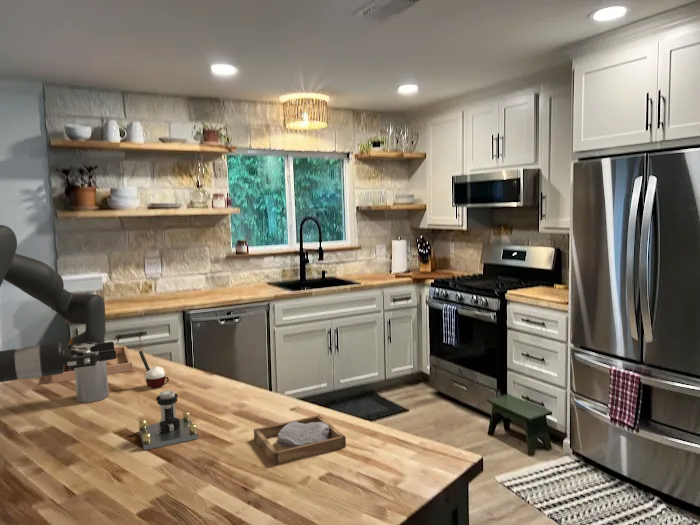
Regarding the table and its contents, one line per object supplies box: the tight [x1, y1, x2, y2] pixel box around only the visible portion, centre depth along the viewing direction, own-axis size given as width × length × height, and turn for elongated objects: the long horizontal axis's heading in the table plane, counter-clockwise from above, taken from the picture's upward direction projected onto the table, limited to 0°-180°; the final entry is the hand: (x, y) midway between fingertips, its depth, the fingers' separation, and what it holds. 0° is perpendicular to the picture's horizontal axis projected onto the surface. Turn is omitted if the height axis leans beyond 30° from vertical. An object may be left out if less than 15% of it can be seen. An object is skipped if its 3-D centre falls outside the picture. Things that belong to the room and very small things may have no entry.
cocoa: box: [138, 350, 170, 389], centre depth 180 cm, size 10×6×12 cm, turn 59°
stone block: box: [276, 420, 330, 448], centre depth 133 cm, size 12×5×10 cm
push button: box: [154, 390, 180, 433], centre depth 139 cm, size 7×5×10 cm
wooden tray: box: [48, 345, 133, 384], centre depth 206 cm, size 30×27×3 cm
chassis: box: [138, 411, 199, 451], centre depth 140 cm, size 13×13×3 cm
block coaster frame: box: [253, 414, 347, 465], centre depth 132 cm, size 16×18×2 cm
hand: (114, 349), depth 133 cm, fingers open, 8 cm apart
